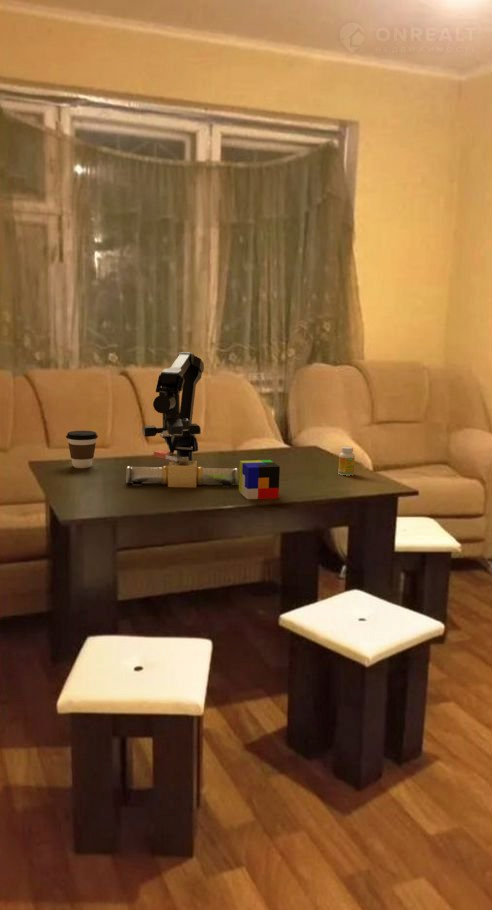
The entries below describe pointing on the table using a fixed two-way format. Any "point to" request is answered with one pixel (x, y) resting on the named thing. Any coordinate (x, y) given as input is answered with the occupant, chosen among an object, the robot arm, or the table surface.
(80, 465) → the coffee cup
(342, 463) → the supplement bottle
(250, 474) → the puzzle toy
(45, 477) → the table surface
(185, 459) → the lever
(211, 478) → the valve
